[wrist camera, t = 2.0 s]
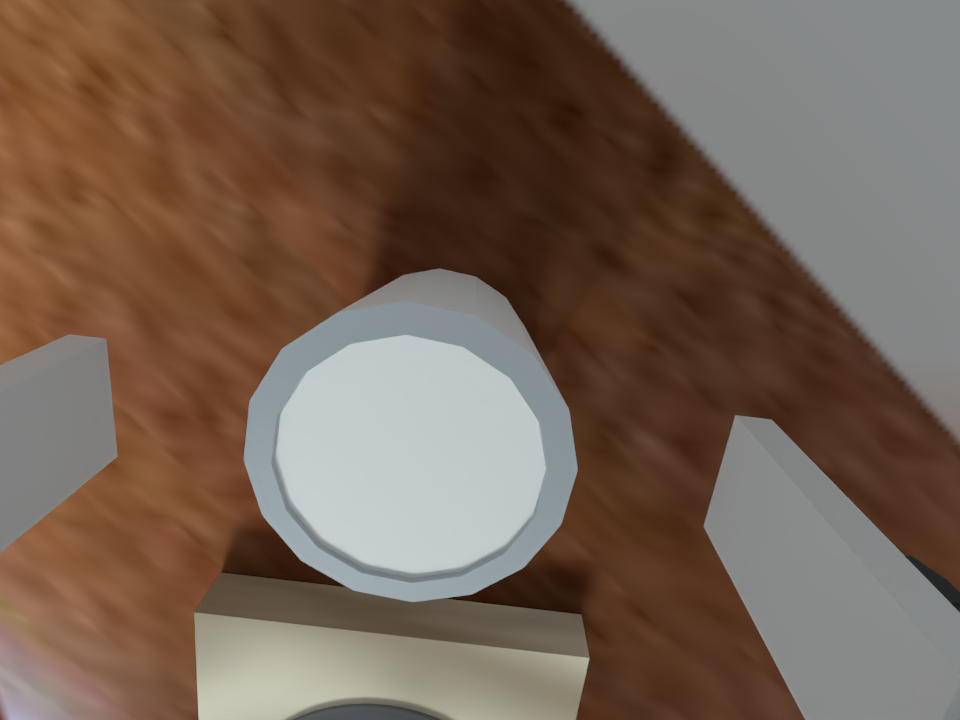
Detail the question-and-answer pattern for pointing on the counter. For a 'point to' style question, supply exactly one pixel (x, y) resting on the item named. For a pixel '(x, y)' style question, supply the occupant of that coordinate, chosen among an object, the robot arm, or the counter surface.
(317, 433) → the shot glass
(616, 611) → the counter surface
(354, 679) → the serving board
